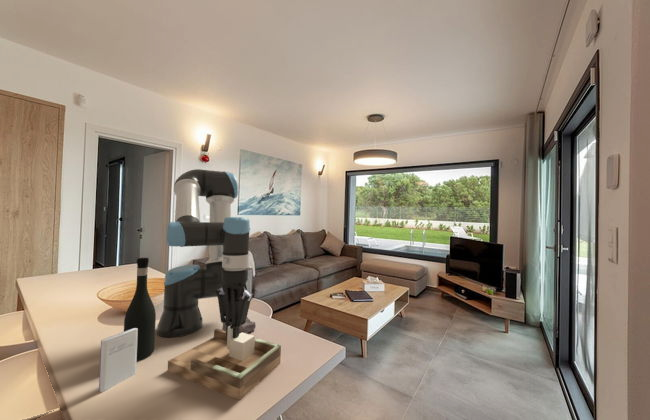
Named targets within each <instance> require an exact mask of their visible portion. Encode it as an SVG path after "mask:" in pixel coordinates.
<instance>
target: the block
mask: <svg viewBox="0 0 650 420" xmlns="http://www.w3.org/2000/svg"><path fill="white" fill-rule="evenodd" d="M255 339H256V337H255V335H252V334H250V333H240V334H239V336H238V337H237V338H231V339H230V349H229V357H232V358H235V359H238V360H241V361H243V360H245V359H246V358H247V357H249V356H250V355H252V354H253V353H254V345H255Z"/></svg>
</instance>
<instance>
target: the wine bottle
mask: <svg viewBox="0 0 650 420" xmlns="http://www.w3.org/2000/svg"><path fill="white" fill-rule="evenodd" d="M149 260H150V259H149V257H138V258H137V259H136V265H137V266H136V286H135V292H134V295H133V297H132V299H131V301H130V303H129V306H128V307H127V310H126V313H125V316H124V319H123V320H124V321H123V332H125V331H127V330H130V329H133V328H138V336H137V361H141V360H143V359H146V358H148V357H149V356H151V355H152V354H153V353H154V351H155V345H156V344H155V343H156V339H155V338H156V337H155V336H156V321H157V318H156V317H157V314H156V309H155V304H154V302H153V301H152V299H151V296H150V294H149V291H148V271H149V270H148V268H149V262H150V261H149Z"/></svg>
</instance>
